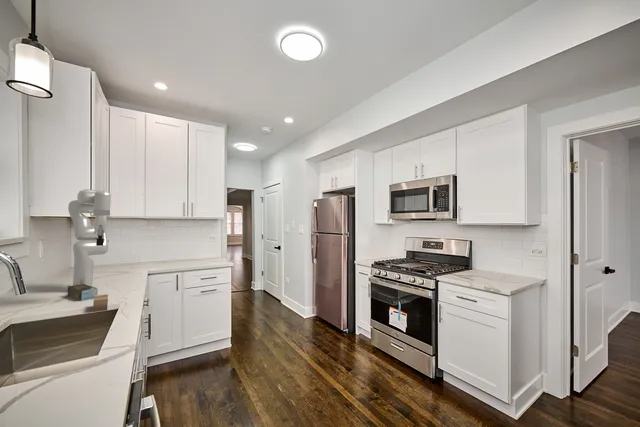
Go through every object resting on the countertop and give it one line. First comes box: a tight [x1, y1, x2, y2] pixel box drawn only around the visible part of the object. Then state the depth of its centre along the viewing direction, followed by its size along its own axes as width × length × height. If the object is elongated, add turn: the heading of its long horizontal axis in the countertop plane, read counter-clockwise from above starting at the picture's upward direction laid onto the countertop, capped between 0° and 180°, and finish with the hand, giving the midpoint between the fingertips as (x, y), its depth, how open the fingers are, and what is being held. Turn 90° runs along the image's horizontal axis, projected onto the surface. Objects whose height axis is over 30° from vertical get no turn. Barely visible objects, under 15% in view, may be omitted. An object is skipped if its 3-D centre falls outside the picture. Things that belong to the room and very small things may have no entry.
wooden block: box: [92, 293, 109, 313], centre depth 142 cm, size 6×6×12 cm
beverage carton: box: [67, 284, 98, 302], centre depth 162 cm, size 8×19×7 cm, turn 59°
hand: (99, 245), depth 160 cm, fingers closed
